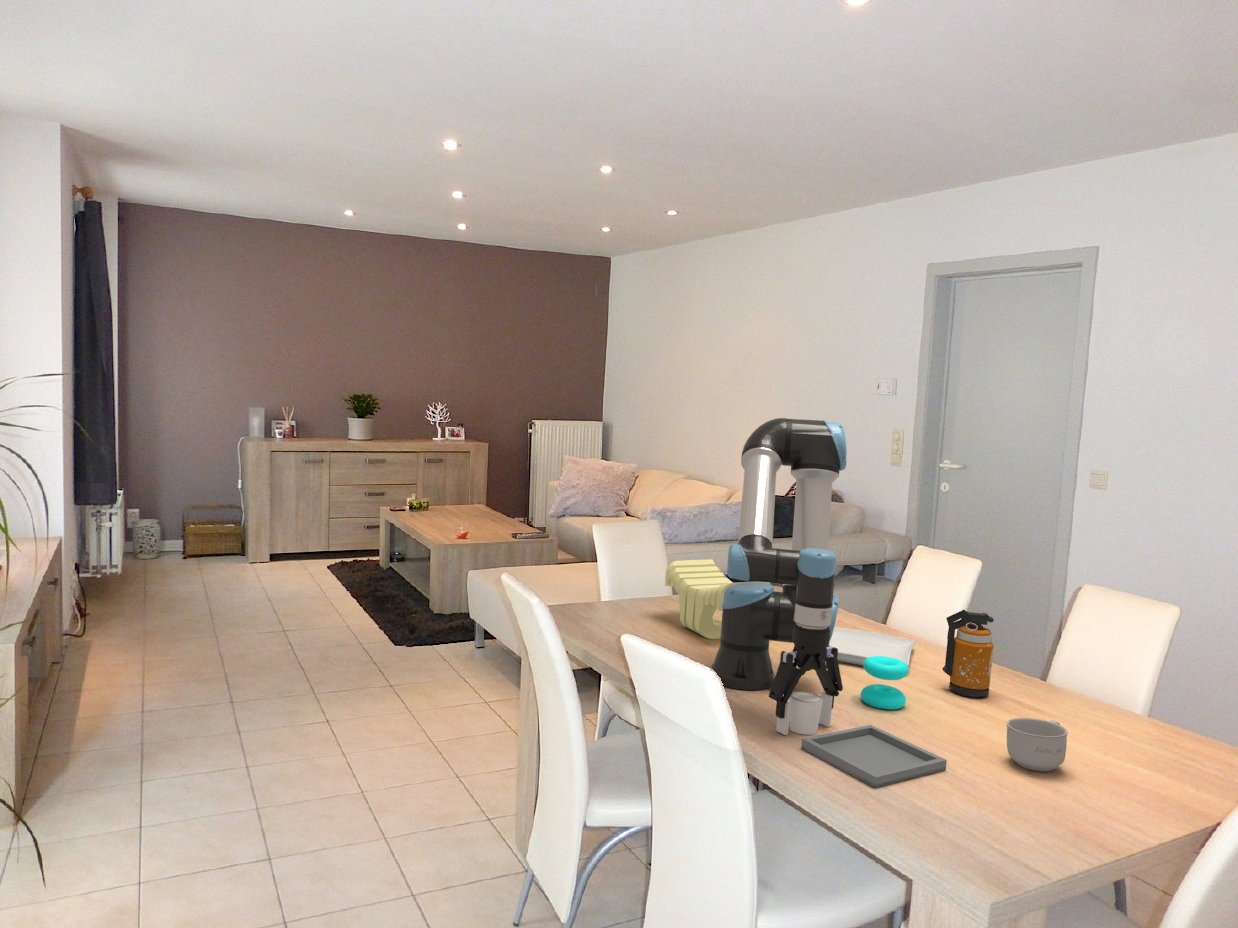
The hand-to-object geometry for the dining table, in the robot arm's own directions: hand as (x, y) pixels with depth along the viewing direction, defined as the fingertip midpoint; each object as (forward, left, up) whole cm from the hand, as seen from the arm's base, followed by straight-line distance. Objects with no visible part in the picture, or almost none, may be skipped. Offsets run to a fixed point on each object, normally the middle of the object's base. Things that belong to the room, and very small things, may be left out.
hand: (803, 728), depth 187 cm
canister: (-3, +55, 0) cm, 55 cm away
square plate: (-36, +54, -1) cm, 65 cm away
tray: (+17, +2, 0) cm, 17 cm away
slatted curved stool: (-68, +28, 0) cm, 74 cm away
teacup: (+32, +32, 0) cm, 45 cm away
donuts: (-5, +29, 0) cm, 29 cm away
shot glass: (0, 0, 0) cm, 0 cm away
